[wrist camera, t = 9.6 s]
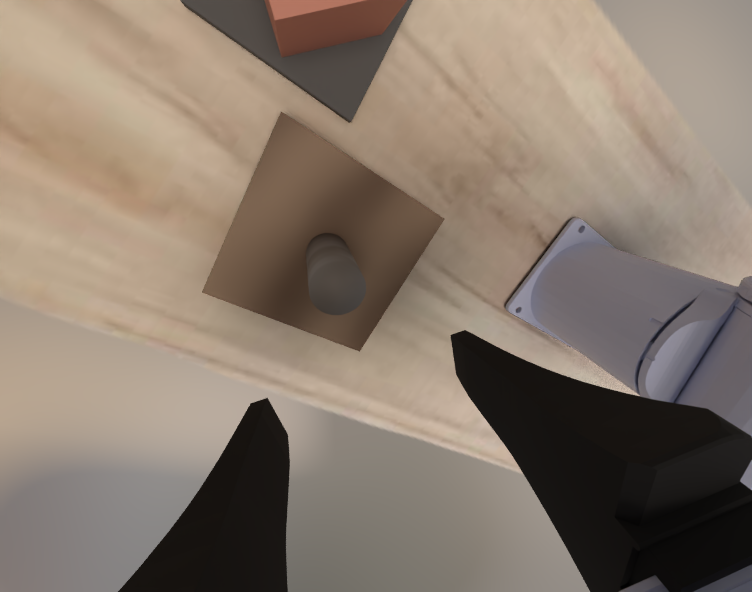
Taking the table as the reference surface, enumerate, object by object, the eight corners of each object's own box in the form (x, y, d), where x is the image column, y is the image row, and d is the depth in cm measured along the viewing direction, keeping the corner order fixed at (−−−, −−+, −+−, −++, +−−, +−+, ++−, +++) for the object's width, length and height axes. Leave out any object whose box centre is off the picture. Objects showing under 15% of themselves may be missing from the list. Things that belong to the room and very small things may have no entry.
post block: (434, 214, 19) (491, 241, 14) (355, 339, 22) (376, 406, 16) (282, 114, 15) (273, 94, 10) (208, 281, 18) (167, 344, 12)
